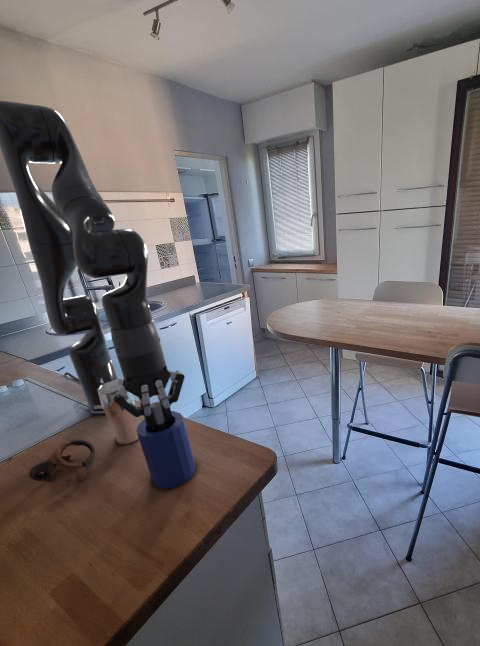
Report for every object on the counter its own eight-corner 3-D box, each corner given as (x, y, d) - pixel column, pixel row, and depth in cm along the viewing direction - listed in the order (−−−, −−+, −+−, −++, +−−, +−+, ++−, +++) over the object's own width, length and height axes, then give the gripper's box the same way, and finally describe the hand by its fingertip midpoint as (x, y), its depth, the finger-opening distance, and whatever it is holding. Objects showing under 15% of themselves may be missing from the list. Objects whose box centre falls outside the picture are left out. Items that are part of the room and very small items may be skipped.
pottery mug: (80, 454, 81) (87, 430, 78) (100, 482, 78) (107, 459, 74) (19, 476, 71) (24, 449, 68) (38, 509, 67) (44, 483, 64)
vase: (147, 472, 73) (131, 423, 68) (186, 453, 78) (174, 406, 73) (160, 495, 67) (144, 443, 61) (201, 473, 72) (189, 423, 66)
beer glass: (123, 449, 81) (104, 396, 75) (109, 439, 85) (91, 388, 79) (149, 434, 86) (134, 383, 80) (135, 425, 90) (120, 376, 84)
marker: (164, 460, 71) (147, 404, 66) (174, 455, 72) (159, 400, 67) (167, 465, 70) (151, 408, 64) (178, 460, 71) (162, 404, 65)
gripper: (169, 331, 67) (186, 405, 74) (92, 352, 59) (119, 432, 66) (183, 341, 62) (200, 419, 68) (100, 365, 54) (129, 450, 61)
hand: (160, 425), depth 67 cm, fingers closed on marker, 2 cm apart
